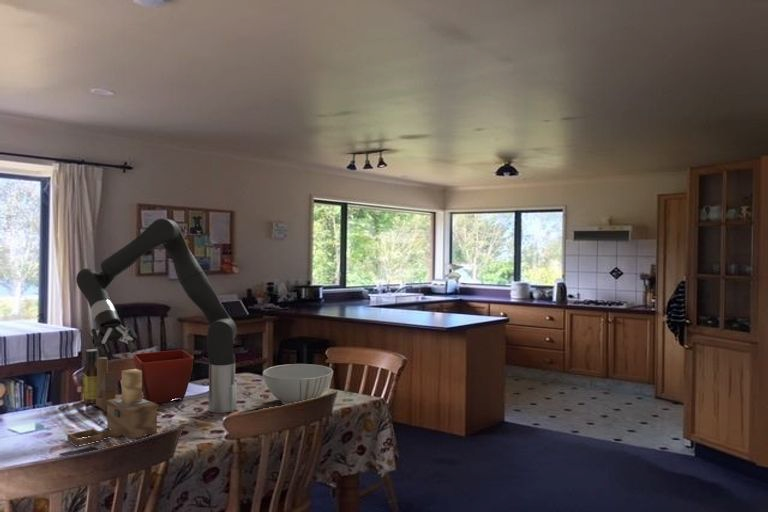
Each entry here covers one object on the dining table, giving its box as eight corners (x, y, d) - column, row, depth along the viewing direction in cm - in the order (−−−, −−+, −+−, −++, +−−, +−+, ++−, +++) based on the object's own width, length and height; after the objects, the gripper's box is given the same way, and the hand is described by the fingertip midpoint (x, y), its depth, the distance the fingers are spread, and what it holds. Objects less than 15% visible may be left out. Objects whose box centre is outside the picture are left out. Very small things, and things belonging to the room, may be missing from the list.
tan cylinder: (135, 398, 203) (135, 368, 202) (141, 401, 200) (141, 370, 199) (121, 401, 199) (121, 370, 199) (127, 404, 196) (127, 373, 196)
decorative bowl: (322, 414, 221) (322, 380, 220) (251, 409, 225) (251, 377, 225) (340, 395, 247) (340, 365, 247) (276, 391, 251) (276, 362, 251)
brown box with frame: (134, 421, 209) (134, 394, 209) (158, 432, 198) (158, 403, 197) (62, 437, 192) (61, 407, 191) (83, 450, 180) (83, 418, 180)
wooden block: (105, 412, 220) (105, 362, 219) (95, 405, 228) (95, 357, 227) (115, 410, 222) (115, 360, 222) (105, 403, 230) (105, 356, 230)
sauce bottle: (86, 399, 236) (86, 348, 236) (103, 399, 237) (103, 348, 236) (79, 404, 230) (79, 351, 229) (97, 403, 230) (97, 351, 230)
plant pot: (141, 407, 226) (141, 362, 225) (133, 396, 242) (133, 353, 242) (194, 401, 236) (194, 357, 235) (182, 390, 252) (182, 349, 251)
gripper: (87, 310, 206) (102, 349, 199) (129, 307, 217) (144, 343, 209) (81, 324, 210) (95, 362, 203) (122, 320, 220) (137, 357, 213)
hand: (120, 353), depth 206 cm, fingers open, 8 cm apart
